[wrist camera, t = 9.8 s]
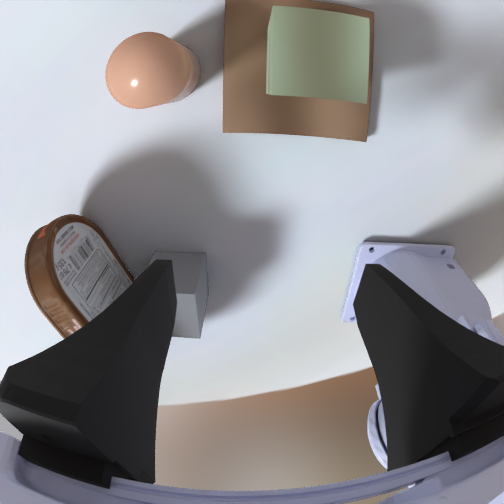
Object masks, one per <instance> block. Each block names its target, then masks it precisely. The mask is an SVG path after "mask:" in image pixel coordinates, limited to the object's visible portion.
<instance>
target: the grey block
mask: <svg viewBox="0 0 504 504" xmlns="http://www.w3.org/2000/svg"><path fill="white" fill-rule="evenodd" d="M156 259H163V260H172V265H173V273H174V281H175V289H176V296H177V310H176V317H175V324H174V329H173V333H172V337H185V338H200V337H201V331H202V326H203V321H204V315H205V310H206V305H207V300H208V281H207V265H206V253H194V252H162V251H155V253H154V254H153V256H152V258H151V260H150V262H149V264H148V266H149V265H150V264H152V263H153V262H154V261H155V260H156ZM148 266H147V268H148ZM147 268H146V269H147Z"/></svg>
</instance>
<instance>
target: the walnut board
mask: <svg viewBox="0 0 504 504" xmlns="http://www.w3.org/2000/svg"><path fill="white" fill-rule="evenodd" d="M273 6H288V7H300V8H310V9H318V10H326V11H333V12H339V13H345V14H350V15H355V16H360V17H365V18H369V24H370V41H369V77H368V96H367V104H363V103H356V102H349V101H341V100H333V99H323V98H312V97H299V96H281V95H269V94H266V69H267V30H268V25H269V21H270V16H271V12H272V7H273ZM373 46H374V12H371V11H367V10H363V9H359V8H354V7H349V6H344V5H338V4H333V3H326V2H320V1H312V0H225V29H224V70H223V133H269V134H289V135H304V136H316V137H327V138H337V139H346V140H355V141H362V142H366V140H367V132H368V122H369V112H370V100H371V87H372V71H373Z"/></svg>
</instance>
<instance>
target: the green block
mask: <svg viewBox="0 0 504 504" xmlns="http://www.w3.org/2000/svg"><path fill="white" fill-rule="evenodd" d="M369 41H370V24H369V18H365V17H360V16H355V15H350V14H345V13H339V12H333V11H326V10H318V9H310V8H300V7H288V6H273V7H272V12H271V16H270V21H269V25H268V30H267V69H266V94H269V95H281V96H299V97H312V98H323V99H333V100H341V101H349V102H356V103H363V104H367V96H368V77H369Z"/></svg>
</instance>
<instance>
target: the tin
mask: <svg viewBox="0 0 504 504" xmlns="http://www.w3.org/2000/svg"><path fill="white" fill-rule="evenodd" d="M25 274H26V279H27V284H28V287H29V290H30V293H31V295H32V297H33V299H34V301H35V303H36V304H37V306H38V308H39V309H40V310H41V312H42V313H43V314H44V316H45V317H46V318H47V319H48V320H49V322H50V323H51V324H52V325H53V326H54V328H55V329H56V330H57V331H58V332H59V334H60V335H61V336H62V337H63V338H64V339H65V338H67V337H68V336H70V335H71V334H73V333H74V332H76V331H77V330H79V329H80V328H82V327H83V326H84V325H86V324H87V323H88V322H90V321H91V320H92V319H94V318H95V317H96V316H97V315H99V314H100V313H101V312H102V311H104V310H105V309H106V308H107V307H108V306H109V305H110V304H111V303H112V302H113V301H115V300H116V299H117V298H118V297H119V296H120V295H121V294H122V293H123V292H124V291H125V290H126V289H127V288H128V287H129V286H130V285H131V284H132V283H133V282H134V280H133V278H132V277H131V275H130V274H129V272H128V271H127V269H126V268H125V266H124V265H123V263H122V262H121V260H120V259H119V257H118V256H117V254H116V253H115V251H114V249H113V248H112V246H111V245H110V243H109V241H108V240H107V238H106V237H105V236H104V234H103V233H102V232H101V231H100V229H99V228H98V227H97V226H96V225H95V224H93V223H92V222H91V221H90V220H88V219H86V218H84V217H82V216H79V215H75V214H69V215H64V216H61V217H59V218H57V219H55V220H53V221H52V222H50V223H49V224H48V225H45V226H43V227H41V228H39V229H38V230H37V231H36V232H35V233H34V234H33V235H32V237H31V239H30V241H29V243H28V246H27V249H26V254H25ZM163 370H164V369H163Z"/></svg>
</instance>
